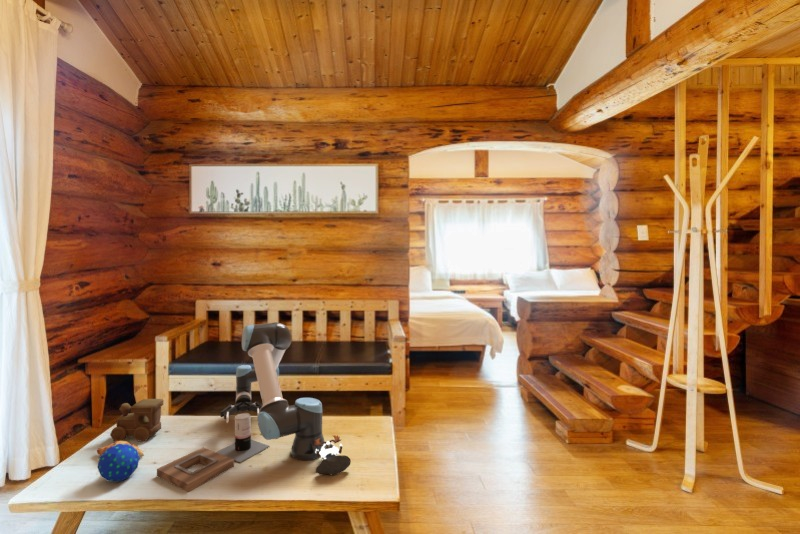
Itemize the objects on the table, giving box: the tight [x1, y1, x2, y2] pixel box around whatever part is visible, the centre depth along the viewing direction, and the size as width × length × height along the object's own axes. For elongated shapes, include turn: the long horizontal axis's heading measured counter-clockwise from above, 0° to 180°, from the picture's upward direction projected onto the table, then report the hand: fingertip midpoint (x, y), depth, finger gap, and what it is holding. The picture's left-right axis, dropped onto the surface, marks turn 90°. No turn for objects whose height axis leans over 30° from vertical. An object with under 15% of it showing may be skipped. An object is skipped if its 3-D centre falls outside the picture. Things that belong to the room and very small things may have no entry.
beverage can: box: [234, 412, 252, 452], centre depth 180 cm, size 7×7×15 cm
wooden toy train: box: [109, 398, 164, 442], centre depth 191 cm, size 20×11×17 cm, turn 92°
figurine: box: [314, 434, 351, 476], centre depth 168 cm, size 14×10×18 cm
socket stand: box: [156, 446, 235, 492], centre depth 163 cm, size 20×20×3 cm
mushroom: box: [97, 444, 140, 483], centre depth 158 cm, size 14×14×15 cm
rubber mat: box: [215, 439, 270, 464], centre depth 180 cm, size 16×16×1 cm
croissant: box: [96, 440, 144, 459], centre depth 174 cm, size 21×10×8 cm, turn 85°
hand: (243, 418), depth 189 cm, fingers open, 13 cm apart
